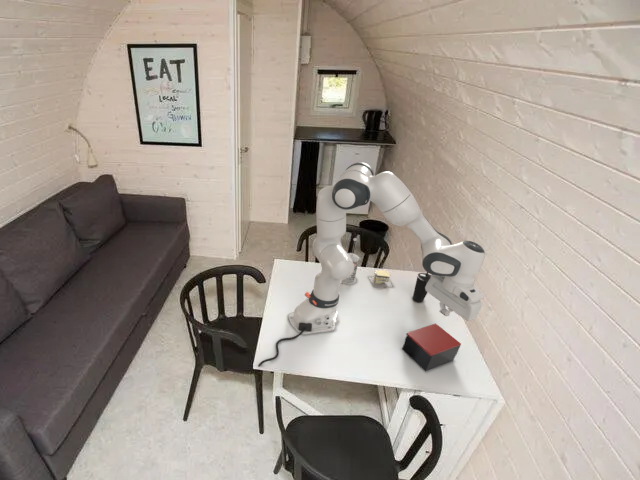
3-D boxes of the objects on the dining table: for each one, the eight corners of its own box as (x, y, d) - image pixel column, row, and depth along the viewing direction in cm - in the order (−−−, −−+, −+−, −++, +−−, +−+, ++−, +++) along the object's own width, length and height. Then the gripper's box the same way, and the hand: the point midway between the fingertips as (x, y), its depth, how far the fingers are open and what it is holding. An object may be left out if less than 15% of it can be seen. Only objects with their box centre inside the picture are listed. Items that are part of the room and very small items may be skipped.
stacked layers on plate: (374, 287, 184) (376, 278, 181) (368, 277, 192) (370, 268, 189) (393, 286, 184) (395, 278, 181) (386, 277, 192) (389, 268, 189)
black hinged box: (425, 371, 138) (432, 355, 133) (402, 349, 148) (407, 333, 143) (453, 360, 143) (460, 345, 138) (428, 339, 152) (434, 324, 148)
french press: (358, 284, 186) (368, 243, 172) (336, 284, 186) (344, 243, 172) (353, 273, 194) (362, 233, 181) (332, 274, 194) (339, 233, 180)
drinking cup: (419, 306, 171) (432, 272, 160) (406, 298, 177) (417, 264, 166) (429, 301, 175) (442, 267, 164) (415, 293, 180) (427, 260, 169)
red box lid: (430, 356, 133) (431, 354, 133) (406, 334, 143) (406, 332, 142) (460, 345, 138) (461, 343, 137) (434, 324, 147) (435, 323, 147)
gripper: (427, 270, 133) (416, 299, 140) (475, 302, 117) (460, 333, 124) (440, 267, 135) (428, 296, 142) (489, 298, 119) (473, 329, 126)
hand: (443, 313), depth 133 cm, fingers closed
